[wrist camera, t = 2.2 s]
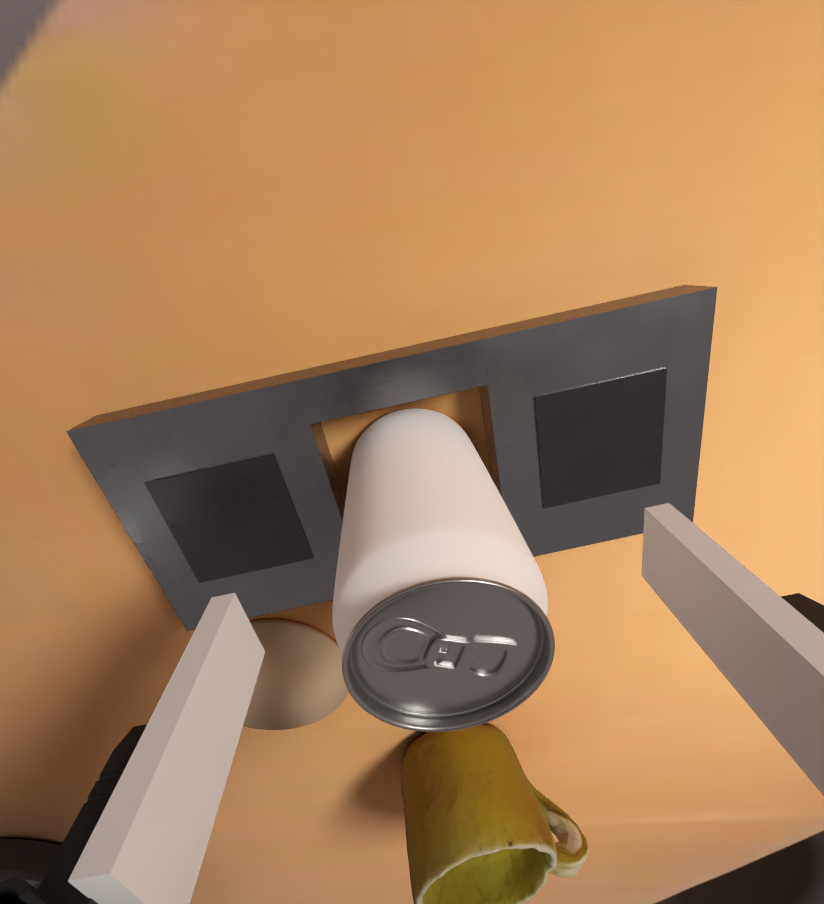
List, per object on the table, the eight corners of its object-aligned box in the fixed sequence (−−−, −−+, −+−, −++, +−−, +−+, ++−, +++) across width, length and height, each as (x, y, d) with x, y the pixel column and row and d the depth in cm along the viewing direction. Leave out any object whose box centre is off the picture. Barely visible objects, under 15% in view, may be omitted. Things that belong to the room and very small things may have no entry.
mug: (357, 811, 31) (407, 994, 22) (409, 689, 31) (480, 825, 22) (482, 804, 36) (563, 950, 28) (527, 700, 36) (624, 813, 27)
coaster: (229, 736, 29) (228, 742, 29) (167, 638, 25) (163, 643, 25) (367, 707, 29) (366, 712, 29) (326, 603, 25) (325, 608, 25)
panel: (201, 603, 24) (186, 632, 22) (95, 415, 19) (64, 432, 17) (668, 503, 24) (694, 523, 22) (684, 284, 19) (719, 287, 17)
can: (366, 390, 20) (355, 543, 9) (491, 421, 21) (614, 589, 10) (339, 503, 22) (303, 731, 11) (452, 525, 23) (517, 751, 13)
